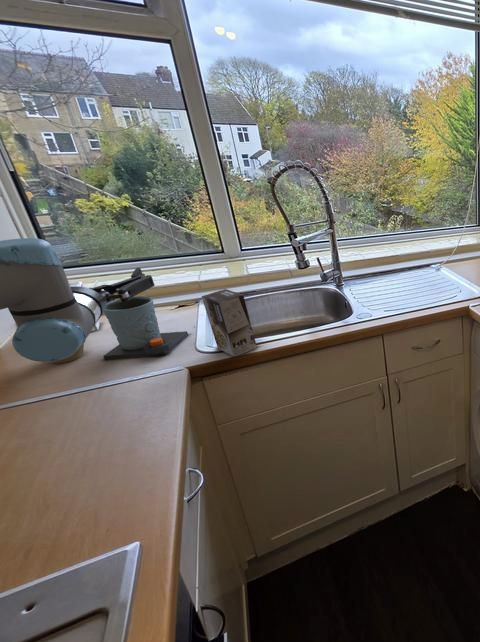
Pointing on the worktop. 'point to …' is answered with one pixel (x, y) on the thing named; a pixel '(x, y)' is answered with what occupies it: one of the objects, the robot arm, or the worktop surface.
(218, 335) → the coffee box
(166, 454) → the worktop surface
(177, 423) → the worktop surface
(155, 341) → the tare button
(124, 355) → the scale
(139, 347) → the grey-green plant pot
